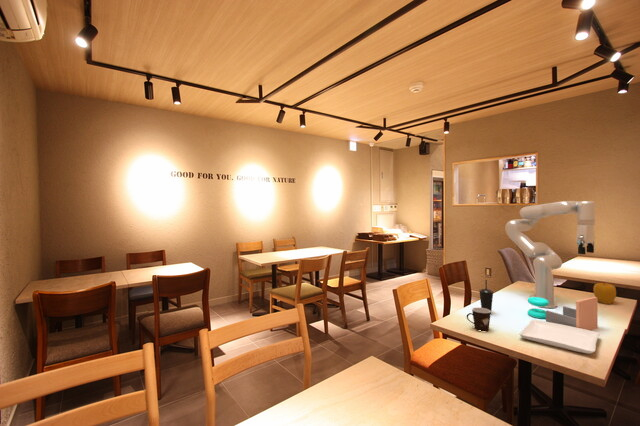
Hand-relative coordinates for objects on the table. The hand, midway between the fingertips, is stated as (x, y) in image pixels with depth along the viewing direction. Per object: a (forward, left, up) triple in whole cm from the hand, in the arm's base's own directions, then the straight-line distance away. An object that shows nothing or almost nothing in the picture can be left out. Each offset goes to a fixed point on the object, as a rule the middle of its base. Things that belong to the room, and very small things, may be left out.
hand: (586, 253), depth 174 cm
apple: (-9, +39, -36) cm, 54 cm away
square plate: (+11, -45, -37) cm, 59 cm away
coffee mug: (-15, -68, -36) cm, 79 cm away
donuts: (-13, -22, -36) cm, 44 cm away
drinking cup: (-29, -44, -36) cm, 64 cm away
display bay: (+3, -22, -36) cm, 42 cm away
